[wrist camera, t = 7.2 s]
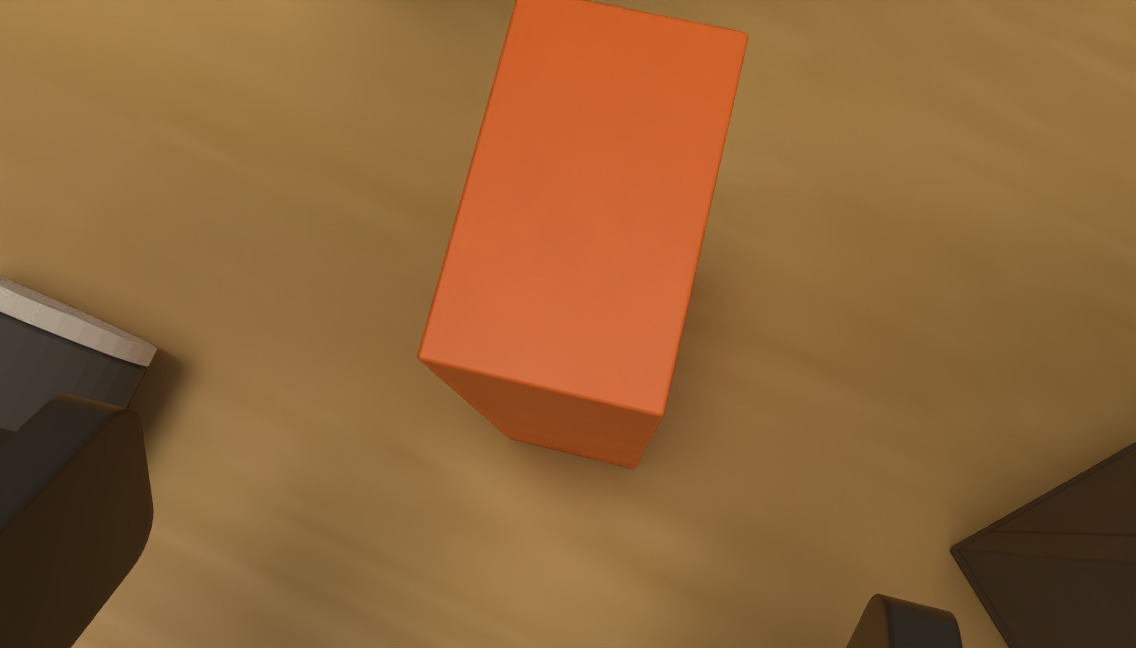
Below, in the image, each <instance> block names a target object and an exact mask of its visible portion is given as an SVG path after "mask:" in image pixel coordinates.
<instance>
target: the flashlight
mask: <svg viewBox="0 0 1136 648" xmlns="http://www.w3.org/2000/svg"><path fill="white" fill-rule="evenodd" d="M156 350H157V348H156V347H155V346H153V345H152V344H150V343H148V342H146V341H145V340H143V339H140V338H138V337H136V336H134V335H132V334H130V333H128V332H126V331H123V330H121V329H119V328H117V327H115V326H112V325H110V324H108V323H106V322H104V321H101V320H99V319H97V318H95V317H93V316H91V315H88V314H86V313H84V312H82V311H80V310H77V309H75V308H73V307H70V306H68V305H66V304H64V303H61V302H59V301H57V300H54V299H52V298H50V297H48V296H45V295H43V294H41V293H38V292H36V291H34V290H31V289H29V288H27V287H24V286H22V285H20V284H17V283H15V282H13V281H10V280H8V279H6V278H3V277H1V276H0V428H3V429H7V430H11V431H15V432H16V431H17V430H18V429H19V428H20V427H21V426H22V425H23V424H25V423H26V422H27V421H28V420H29V419H30V418H31V417H32V416H33V415H34V414H35V413H36V412H38V411H39V410H40V409H41V408H42V407H43V406H44V405H45V404H46V403H47V402H49V401H50V400H51V399H53V398H55V397H56V396H59V395H62V394H70V395H74V396H78V397H82V398H86V399H90V400H94V401H98V402H102V403H106V404H110V405H114V406H118V407H122V408H127V406H128V404H129V402H130V400H131V398H132V396H133V394H134V392H135V390H136V388H137V387H138V385H139V383H140V381H141V379H142V377H143V375H144V373H145V371H146V367H145V366H149V364H150V362H151V360H152V358H153V356H154V354H155V352H156Z"/></svg>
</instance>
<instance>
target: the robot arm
mask: <svg viewBox="0 0 1136 648" xmlns="http://www.w3.org/2000/svg"><path fill="white" fill-rule="evenodd" d="M152 521H153V502H152V495H151V488H150V481H149V474H148V467H147V460H146V453H145V446H144V439H143V431H142V425H141V421H140V418H139V416H138V415H137V413H136V412H134V411H133V410H130V409H126V408H122V407H118V406H114V405H110V404H106V403H102V402H98V401H94V400H90V399H86V398H82V397H78V396H74V395H70V394H62V395H59V396H56V397H55V398H53V399H51V400H50V401H49V402H47V403H46V404H45V405H44V406H43V407H42V408H41V409H40V410H39V411H38V412H36V413H35V414H34V415H33V416H32V417H31V418H30V419H29V420H28V421H27V422H26V423H25V424H23V425H22V426H21V427H20V428H19V429H18V430H17V431H16V432H15V431H11V430H7V429H3V428H0V648H71V647H72V645H73V644H74V643H75V641H76V640H77V639H78V638H79V636H80V635H81V634H82V632H83V631H84V630H85V629H86V627H87V626H88V625H89V623H90V622H91V621H92V620H93V618H94V617H95V616H96V614H97V613H98V612H99V610H100V609H101V608H102V607H103V605H104V604H105V603H106V601H107V600H108V599H109V598H110V596H111V595H112V594H113V592H114V591H115V590H116V588H117V587H118V586H119V585H120V583H121V582H122V581H123V579H124V578H125V577H126V576H127V574H128V573H129V572H130V570H131V569H132V568H133V566H134V565H135V564H136V562H137V561H138V559H139V557H140V556H141V554H142V552H143V550H144V548H145V545H146V543H147V540H148V537H149V534H150V531H151V527H152ZM846 648H963V647H962V642H961V636H960V631H959V627H958V623H957V620H956V618H955V616H954V615H953V614H952V613H951V612H949V611H945V610H941V609H937V608H933V607H929V606H925V605H921V604H917V603H913V602H909V601H905V600H901V599H897V598H893V597H889V596H885V595H881V594H875V595H874V596H873V597H872V598H871V599H870V601H869V602H868V604H867V606H866V608H865V610H864V612H863V614H862V616H861V618H860V621H859V623H858V625H857V627H856V629H855V631H854V633H853V635H852V637H851V639H850V641H849V643H848V645H847V647H846Z"/></svg>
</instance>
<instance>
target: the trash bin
mask: <svg viewBox="0 0 1136 648" xmlns="http://www.w3.org/2000/svg"><path fill="white" fill-rule="evenodd" d="M951 552H952V554H953V555H954V557H955V559H956V560H957V562H958V563H959V565H960V567H961V568H962V570H963V572H964V573H965V575H966V577H967V578H968V580H969V581H970V583H971V585H972V586H973V588H974V590H975V591H976V593H977V595H978V596H979V598H980V599H981V601H982V603H983V604H984V606H985V608H986V609H987V611H988V613H989V614H990V616H991V617H992V619H993V621H994V622H995V624H996V626H997V627H998V629H999V631H1000V632H1001V634H1002V636H1003V637H1004V639H1005V640H1006V642H1007V644H1008V645H1009V647H1010V648H1136V443H1134V444H1133V445H1131V446H1129V447H1127V448H1126V449H1124V450H1122V451H1120V452H1119V453H1117V454H1115V455H1113V456H1112V457H1110V458H1108V459H1106V460H1105V461H1103V462H1101V463H1099V464H1097V465H1096V466H1094V467H1092V468H1090V469H1089V470H1087V471H1085V472H1083V473H1082V474H1080V475H1078V476H1076V477H1075V478H1073V479H1071V480H1069V481H1068V482H1066V483H1064V484H1062V485H1061V486H1059V487H1057V488H1055V489H1054V490H1052V491H1050V492H1048V493H1047V494H1045V495H1043V496H1041V497H1039V498H1038V499H1036V500H1034V501H1032V502H1031V503H1029V504H1027V505H1025V506H1024V507H1022V508H1020V509H1018V510H1017V511H1015V512H1013V513H1011V514H1010V515H1008V516H1006V517H1004V518H1003V519H1001V520H999V521H997V522H996V523H994V524H992V525H990V526H989V527H987V528H985V529H983V530H981V531H980V532H978V533H976V534H974V535H973V536H971V537H969V538H967V539H966V540H964V541H962V542H960V543H959V544H957V545H955V546H953V547H952V548H951Z"/></svg>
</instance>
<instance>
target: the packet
mask: <svg viewBox="0 0 1136 648" xmlns="http://www.w3.org/2000/svg"><path fill="white" fill-rule="evenodd" d="M747 41H748V34H747V33H745V32H741V31H736V30H731V29H726V28H721V27H716V26H711V25H706V24H701V23H696V22H691V21H686V20H681V19H676V18H671V17H666V16H661V15H656V14H651V13H646V12H641V11H636V10H631V9H626V8H621V7H616V6H611V5H606V4H601V3H596V2H591V1H586V0H516V2H515V6H514V9H513V13H512V17H511V20H510V24H509V27H508V31H507V35H506V38H505V42H504V45H503V49H502V53H501V56H500V60H499V64H498V67H497V71H496V74H495V78H494V82H493V85H492V89H491V92H490V96H489V100H488V103H487V107H486V110H485V114H484V118H483V121H482V125H481V128H480V132H479V136H478V139H477V143H476V146H475V150H474V154H473V157H472V161H471V164H470V168H469V172H468V175H467V179H466V183H465V186H464V190H463V193H462V197H461V201H460V204H459V208H458V211H457V215H456V219H455V222H454V226H453V229H452V233H451V237H450V240H449V244H448V247H447V251H446V255H445V258H444V262H443V265H442V269H441V273H440V276H439V280H438V284H437V287H436V291H435V294H434V298H433V302H432V305H431V309H430V312H429V316H428V320H427V323H426V327H425V330H424V334H423V338H422V341H421V345H420V348H419V352H418V359H419V360H420V361H421V362H422V363H423V364H424V365H426V366H427V367H428V368H429V369H430V370H431V371H433V372H434V373H435V374H436V375H437V376H438V377H439V378H441V379H442V380H443V381H444V382H445V383H446V384H448V385H449V386H450V387H451V388H452V389H453V390H455V391H456V392H457V393H458V394H459V395H460V396H461V397H463V398H464V399H465V400H466V401H467V402H468V403H470V404H471V405H472V406H473V407H474V408H475V409H476V410H478V411H479V412H480V413H481V414H482V415H483V416H485V417H486V418H487V419H488V420H489V421H490V422H491V423H493V424H494V425H495V426H496V427H497V428H498V429H500V430H501V431H502V432H503V433H504V434H505V435H506V436H508V437H509V438H510V439H514V440H518V441H522V442H526V443H530V444H534V445H539V446H543V447H547V448H551V449H555V450H559V451H563V452H567V453H572V454H576V455H580V456H584V457H588V458H592V459H596V460H600V461H605V462H609V463H613V464H617V465H621V466H625V467H629V468H635V467H636V465H637V463H638V461H639V459H640V457H641V455H642V454H643V452H644V450H645V448H646V446H647V444H648V443H649V441H650V439H651V437H652V435H653V433H654V431H655V430H656V428H657V426H658V424H659V422H660V420H661V418H662V417H663V415H664V411H665V407H666V403H667V398H668V394H669V389H670V385H671V380H672V376H673V371H674V367H675V362H676V358H677V353H678V349H679V345H680V340H681V336H682V331H683V327H684V322H685V318H686V313H687V309H688V304H689V300H690V295H691V291H692V286H693V282H694V278H695V273H696V269H697V264H698V260H699V255H700V251H701V246H702V242H703V237H704V233H705V228H706V224H707V219H708V215H709V211H710V206H711V202H712V197H713V193H714V188H715V184H716V179H717V175H718V170H719V166H720V161H721V157H722V153H723V148H724V144H725V139H726V135H727V130H728V126H729V121H730V117H731V112H732V108H733V103H734V99H735V94H736V90H737V86H738V81H739V77H740V72H741V68H742V63H743V59H744V54H745V50H746V45H747Z"/></svg>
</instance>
